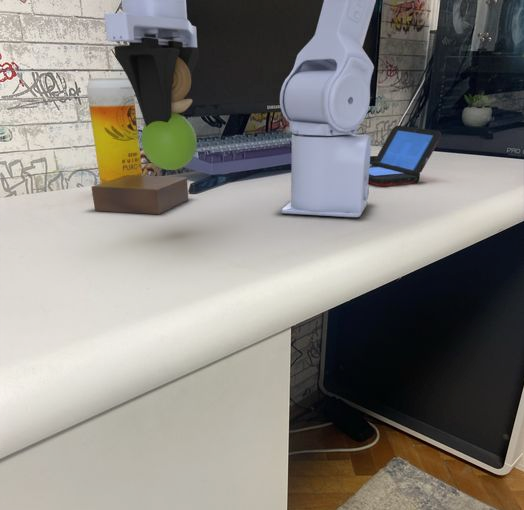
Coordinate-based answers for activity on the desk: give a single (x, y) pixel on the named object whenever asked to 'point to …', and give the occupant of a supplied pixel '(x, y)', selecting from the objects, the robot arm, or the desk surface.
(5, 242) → the desk surface
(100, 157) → the glass of beer
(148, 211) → the walnut block
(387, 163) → the handheld console
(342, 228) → the desk surface
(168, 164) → the snail figurine
